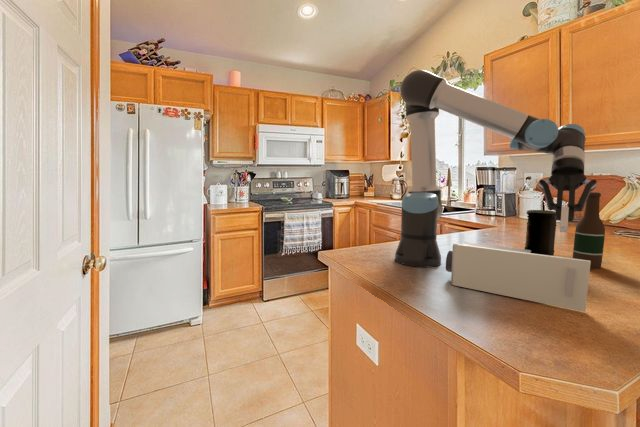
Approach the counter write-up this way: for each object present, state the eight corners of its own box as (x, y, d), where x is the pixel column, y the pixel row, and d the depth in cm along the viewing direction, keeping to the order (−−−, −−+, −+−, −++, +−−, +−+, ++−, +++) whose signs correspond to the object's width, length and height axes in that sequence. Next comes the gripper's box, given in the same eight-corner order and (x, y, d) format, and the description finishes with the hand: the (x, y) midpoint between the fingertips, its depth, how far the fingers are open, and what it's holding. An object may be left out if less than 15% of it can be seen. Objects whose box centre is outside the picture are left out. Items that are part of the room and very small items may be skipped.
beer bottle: (595, 270, 96) (603, 193, 93) (566, 264, 103) (573, 192, 100) (606, 267, 100) (615, 192, 97) (577, 261, 107) (585, 191, 104)
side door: (585, 310, 67) (590, 260, 66) (585, 313, 65) (591, 263, 64) (451, 283, 84) (453, 243, 83) (449, 285, 82) (451, 245, 81)
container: (543, 262, 106) (548, 209, 104) (561, 269, 97) (566, 212, 95) (516, 261, 107) (520, 209, 105) (530, 269, 98) (535, 212, 96)
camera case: (528, 287, 82) (531, 250, 81) (524, 299, 74) (527, 258, 73) (452, 273, 94) (454, 241, 92) (442, 282, 86) (444, 247, 84)
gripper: (595, 174, 90) (595, 240, 79) (540, 175, 98) (533, 235, 87) (598, 154, 85) (599, 222, 74) (540, 157, 93) (533, 218, 82)
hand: (563, 229), depth 80 cm, fingers closed
